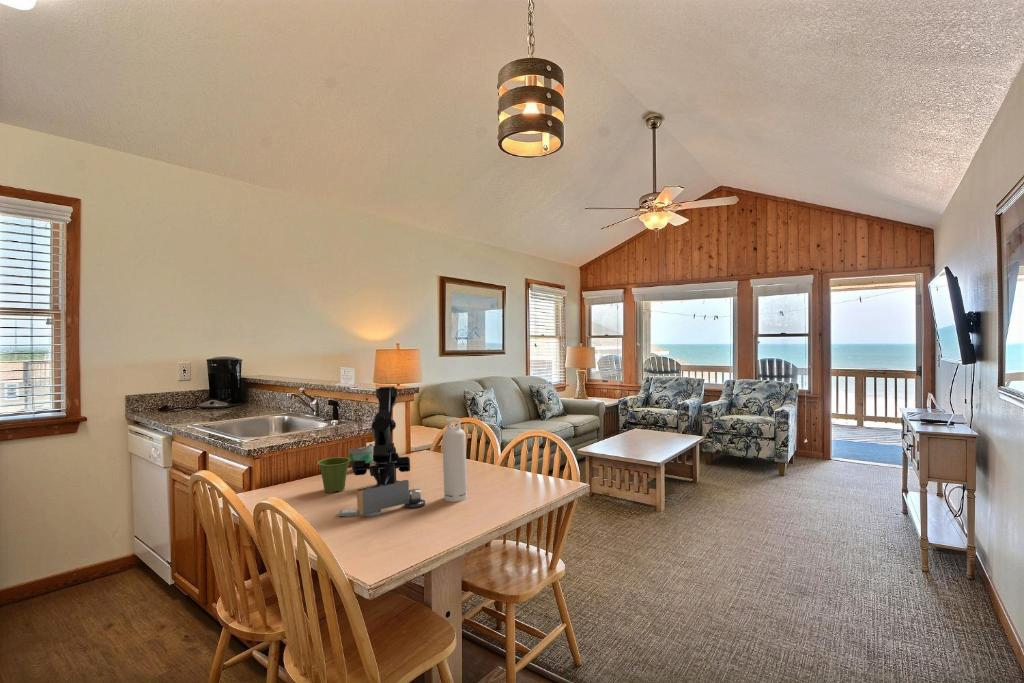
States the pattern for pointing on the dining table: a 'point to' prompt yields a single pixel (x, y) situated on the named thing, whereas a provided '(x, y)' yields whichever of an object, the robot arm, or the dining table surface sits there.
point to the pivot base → (415, 504)
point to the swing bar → (386, 496)
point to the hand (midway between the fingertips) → (381, 488)
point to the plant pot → (334, 473)
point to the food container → (361, 454)
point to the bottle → (454, 462)
